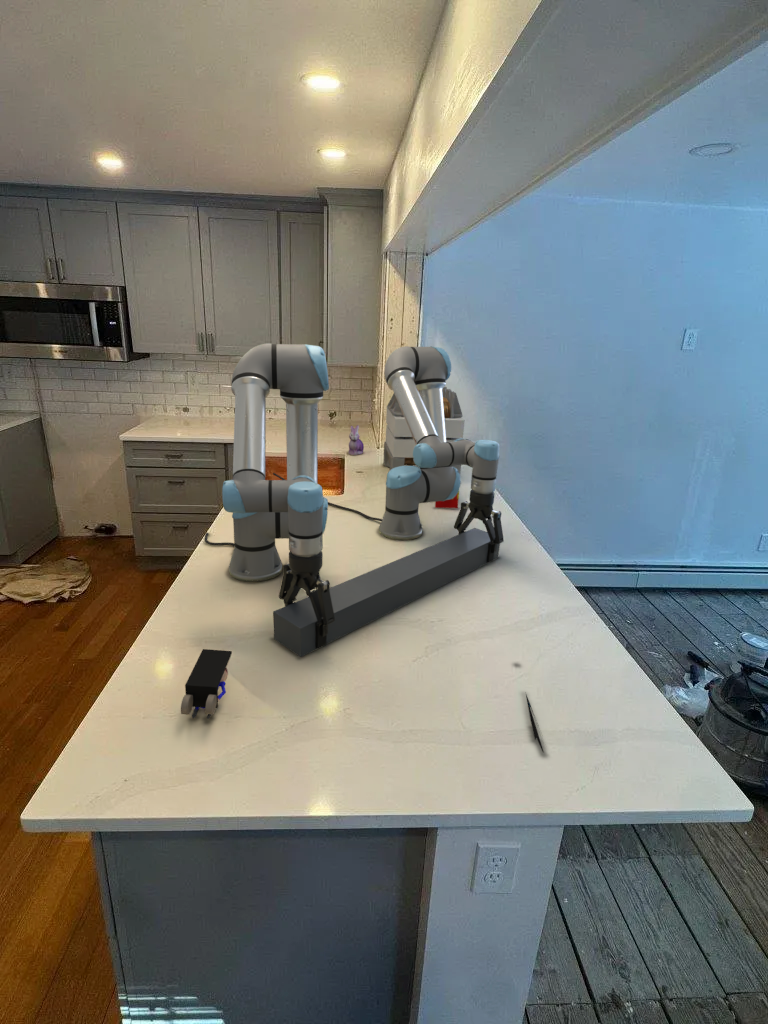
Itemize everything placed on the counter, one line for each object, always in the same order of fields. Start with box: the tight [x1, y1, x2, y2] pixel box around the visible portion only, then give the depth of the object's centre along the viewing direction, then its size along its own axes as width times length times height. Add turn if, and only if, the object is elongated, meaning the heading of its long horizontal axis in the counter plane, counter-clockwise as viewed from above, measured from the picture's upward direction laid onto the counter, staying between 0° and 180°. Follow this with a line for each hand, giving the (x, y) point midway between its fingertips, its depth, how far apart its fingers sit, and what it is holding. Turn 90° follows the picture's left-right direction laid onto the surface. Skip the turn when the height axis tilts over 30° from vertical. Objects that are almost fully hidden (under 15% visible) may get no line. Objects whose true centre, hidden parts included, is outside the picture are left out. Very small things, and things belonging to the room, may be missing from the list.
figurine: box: [348, 424, 365, 456], centre depth 304 cm, size 9×10×15 cm
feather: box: [525, 691, 547, 753], centre depth 115 cm, size 2×28×2 cm
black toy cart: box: [180, 648, 233, 720], centre depth 111 cm, size 7×8×15 cm
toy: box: [434, 490, 460, 509], centre depth 239 cm, size 12×13×30 cm
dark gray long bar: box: [272, 527, 501, 658], centre depth 158 cm, size 82×10×8 cm, turn 137°
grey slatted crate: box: [383, 386, 465, 475], centre depth 268 cm, size 34×33×41 cm
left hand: (305, 636), depth 135 cm, fingers closed on dark gray long bar, 10 cm apart
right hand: (475, 556), depth 183 cm, fingers closed on dark gray long bar, 10 cm apart
